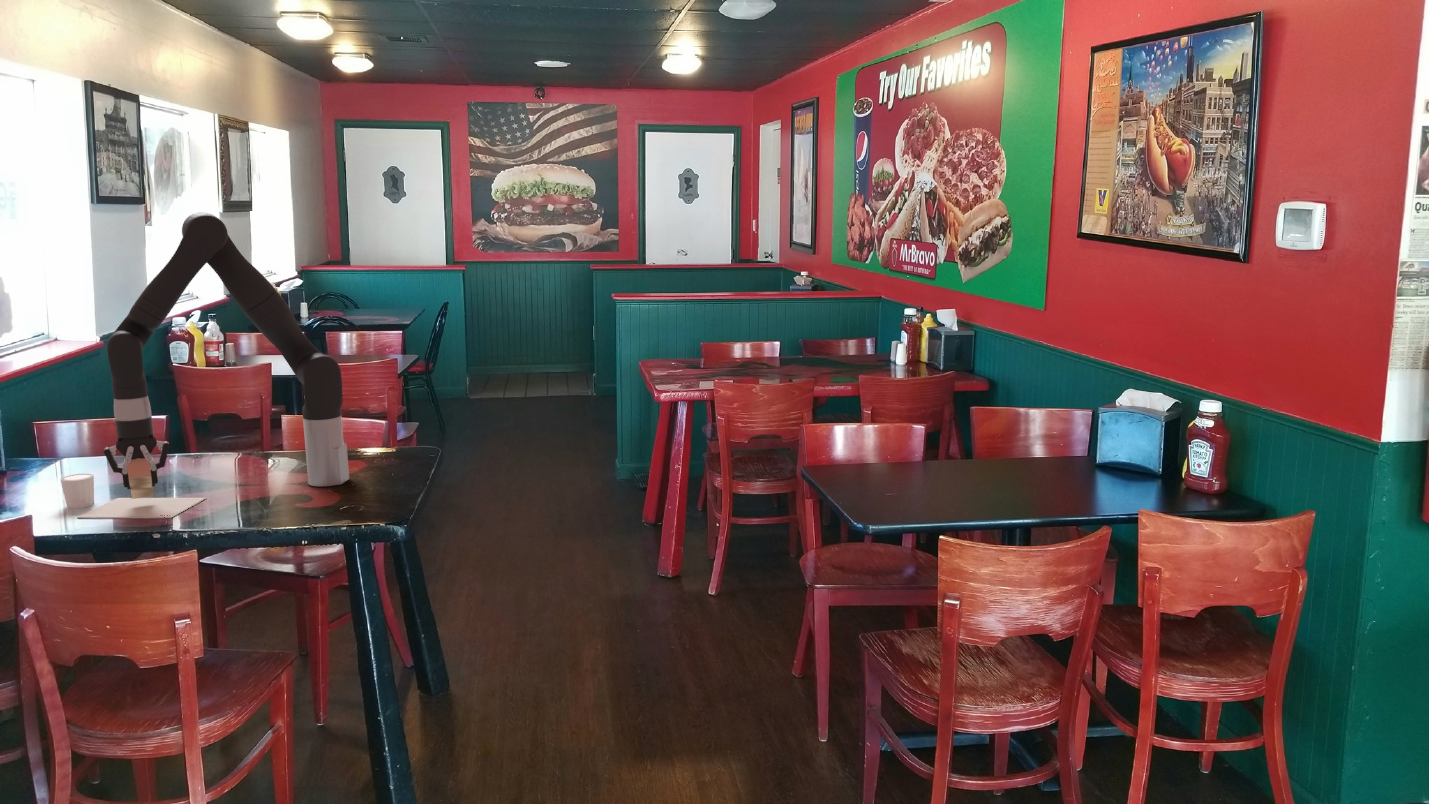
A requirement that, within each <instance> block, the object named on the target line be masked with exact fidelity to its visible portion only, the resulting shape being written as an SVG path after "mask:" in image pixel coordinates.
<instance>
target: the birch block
mask: <svg viewBox="0 0 1429 804" xmlns="http://www.w3.org/2000/svg"><path fill="white" fill-rule="evenodd" d="M127 469H128V478H129V484H130V487H131V489H129V490H130V497H131V498H132V499H136V498H152V497H154V486H153V487H152V479H151V468H150V462H149V461H146V459H145V458H141V459H139V458H138V459H133V460H131V462H130V463H127Z"/></svg>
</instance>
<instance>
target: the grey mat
mask: <svg viewBox="0 0 1429 804" xmlns="http://www.w3.org/2000/svg"><path fill="white" fill-rule="evenodd" d="M204 499H205V500H207V497H144V498H136V499H132V497H116V498H114V499H112V500H110V501H108V502H106V503H103V504H102V505H100V506H98V507H96V508H94V509H90V510H89V511H87V512H85V513H82V514H81V515H79V516H76V519H77V518H84V520H85V518H94V520H95V518H96V519H173V518H175V517H176V516H175V515H177V516H179V515H180V514H182V513H184V512H186V511H188V510H189V509H191V508H192V506H193V507H194V506H197V505H198V504H200V503H201V501H202V502H204V501H205V500H204ZM203 500H204V501H203ZM188 508H189V509H188ZM187 509H188V510H187ZM185 510H186V511H185ZM183 511H184V512H183ZM181 512H182V513H181ZM179 513H180V514H179ZM178 514H179V515H178ZM160 515H163V516H160ZM164 515H165V516H164ZM167 515H168V516H167ZM169 515H170V516H169ZM174 516H175V517H174ZM164 517H165V518H164ZM172 517H173V518H172Z"/></svg>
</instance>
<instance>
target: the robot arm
mask: <svg viewBox="0 0 1429 804" xmlns="http://www.w3.org/2000/svg"><path fill="white" fill-rule="evenodd" d="M226 226H227V225H226V224H225V223H224V221H222V220H221V219H220V218H218V217H217V216H215V215H213V214H211V213H208V212H203V211H202V212H195V213H192V214H190V215H188V217H187V218H185V220H184V221H183V223H182V227H181V234H182V235H181V236H182V238H181V239H180V242H179V245H178V246H177V249H175V251H174V253H173V255H172V256H171V258H170V259H169V261H168V262H167V263H166V264H165V266H164V267H163V268H162V269H161V270H160V271H159V272H158V274H156V276H155V277H154V278H153V279H152V280H151V281H150V282H149V283H148V285H147V286H146V287H145V288H144V290H143V291H142V292H141V293H140V295H139V297H138V298H137V299H136V300H135V302H134V304H133V305H132V307H131V308H130V310H129V312H128V314H127V315H126V317H125V318H124V319H123V320H122V322H121V323H120V324H118V325H119V326H118V327H117V328H116V329H115V330H114V332H112V333H111V336H110V337H109V339H108V340H107V343H106V352H107V358H108V360H107V361H108V365H109V369H110V373H111V389H112V395H113V416H114V422H115V430H116V439H117V440H116V442H115V445H114V444H113V446H110V447H108V446H106V447H104V448H103V454H104V456H105V458H106V459H107V461H108V465H110V467H111V470H112V472H113V473H115V474H116V473H117V474H121V476H122V483H123V487H124V488H127V490H130V489H131V487H130V484H129V478H128V469H127V463H130V462H131V460H133V459H141V458H145V459H146V461H149V462H150V469H151V479H152V487H153V488H154V487H156V484H158V482H159V480H158V479H159V478H158V470H159V469H161V468H165V466H166V462H167V461H166V460H167V457H168V453H169V448H170V442H168V441H167V440H165V441H160V440H157V439H156V437H155V436H154V435H155V432H154V426H153V418H152V417H153V416H152V409H151V408H152V407H151V402H150V398H149V394H148V384H147V378H146V375H145V373H144V360H143V359H144V358H143V350H144V348H145V346H146V344H147V343H148V342H149V340H150V338H151V337H152V336H153V334H154V332H155V330H157V329H158V328H159V327H160V326H161V324H162V323H163V322H164V321H165V320H166V318H167V316H169V314H170V313H171V311H172V310H173V308H174V306H175V305H176V303H177V302H178V300H179V299H180V298H181V296H182V294H183V293H184V292H185V290H186V289H187V287H188V286H189V285H190V283H191V281H192V280H193V279H194V278H195V277H196V276H197V274H198V273H199V272H200V270H201V269H203V268H204V266H205V265H206V264H208V265H209V267H211V269H212V270H213V271H214V272H215V273H216V274H217V276H218V278H219V279H220V281H221V282H222V285H224V287H225V288H226V290H227V291H228V293H229V294H230V295H231V298H232V299H233V300H234V302H235V303H236V305H237V306H238V307H239V309H240V310H241V311H242V313H243V314H244V315H245V316H246V317H247V318H248V320H250V322H251V323H252V324H253V325H254V326H255V327H256V328H257V329H258V331H259V332H260V333H261V334H262V336H264V337H265V338H266V339H267V340H268V341H269V342H270V343H271V344H272V345H273V346H274V347H275V348H276V349H277V350H278V351H279V353H280V354H281V355H282V357H283V358H284V360H285V361H286V363H287V365H288V366H289V367H290V369H291V370H292V372H293V373H294V376H296V378H297V379H298V381H299V382H300V383H301V384H302V385H303V388H304V389H303V390H304V405H303V406H302V409H301V410H302V424H303V432H304V433H303V435H304V448H305V460H306V471H307V482H308V485H310V486H311V487H331V486H340V485H341V486H342V484H345V482H347V481H348V480H349V479H350V469H349V460H348V459H349V458H348V457H349V455H348V448H347V447H348V445H347V443H346V442H344V433H343V432H344V431H343V419H342V408H343V407H342V406H343V402H344V399H343V397H344V395H343V376H342V370H341V367H340V365H339V363H338V362H337V360H335V358H333V357H331V356H329V355H326V354H324V353H322V351H320V350H319V349H318V348H317V347H316V346H315V345H314V344H313V343H312V342H311V340H309V338H308V337H307V336H306V335H305V333H304V332H303V331H302V329H301V327H300V326H299V324H298V321H297V319H296V318H295V315H294V314H293V311H292V309H291V307H289V304H287V302H286V300H285V299H284V298H283V297H282V295H281V294H280V293H279V291H278V290H277V289H276V288H275V287H274V286H273V284H272V283H271V282H270V281H269V280H268V279H267V278H266V277H265V276H264V274H262V272H260V271H259V270H258V269H257V268H256V267H255V266H254V265H253V264H252V263H250V262H249V260H247V258H245V257H244V255H243V254H242V253H241V251H240V250H239V249H238V247H236V245H235V243H234V242H233V240H232V238H231V237H230V235H229V234H228V233H229V232H228V229H227V227H226ZM156 446H157V447H158V450H159V451H160V455H159V461H157V462H155V460H154V458H153V455H152V452H153V451H154V449H155V447H156ZM117 450H118V452H119V453H120V454H122V456H124V460H123V462H122V463H123V464H122V466H119V465H118V463H117V460H116V459H115V457H114V456H116V452H117Z"/></svg>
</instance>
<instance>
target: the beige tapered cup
mask: <svg viewBox="0 0 1429 804" xmlns="http://www.w3.org/2000/svg"><path fill="white" fill-rule="evenodd" d="M59 480H60V485H61V488H62V492H63V495H64V496H63V497H64V500H65V504H66V507H67V508H68V509H82V508H87V507H91V506H93V505H94V504H95V475H94V474H91V473H78V474H70V475H67V476H63V477H61V478H60V479H59Z"/></svg>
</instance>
